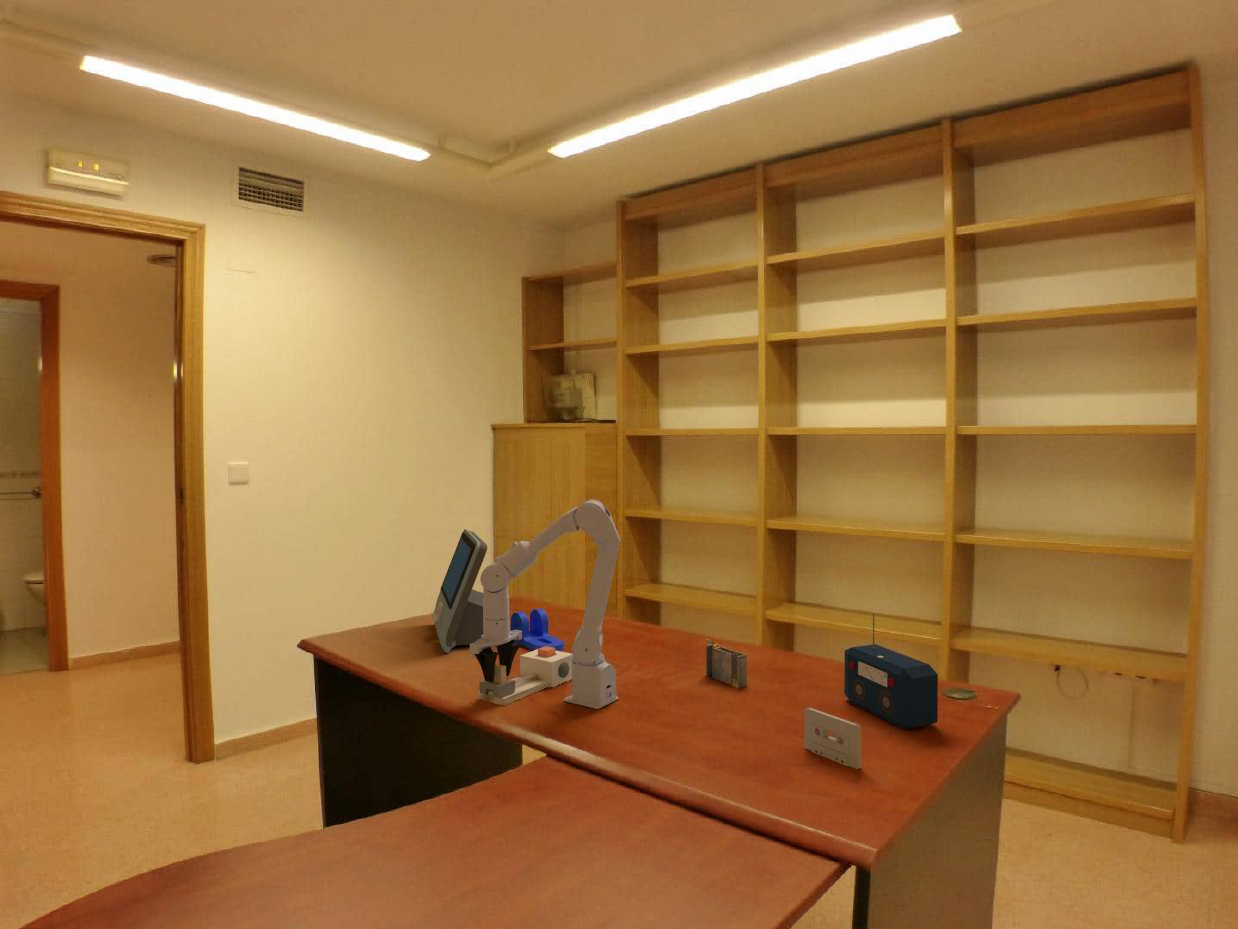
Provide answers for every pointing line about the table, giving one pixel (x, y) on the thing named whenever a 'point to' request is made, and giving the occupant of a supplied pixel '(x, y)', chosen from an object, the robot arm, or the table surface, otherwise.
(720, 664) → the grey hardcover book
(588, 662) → the robot arm
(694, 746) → the table surface
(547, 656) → the button
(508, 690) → the carriage
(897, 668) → the radio
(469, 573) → the touchscreen device
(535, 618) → the bracket
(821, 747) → the cassette
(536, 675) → the rail
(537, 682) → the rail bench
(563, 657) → the cabinet
